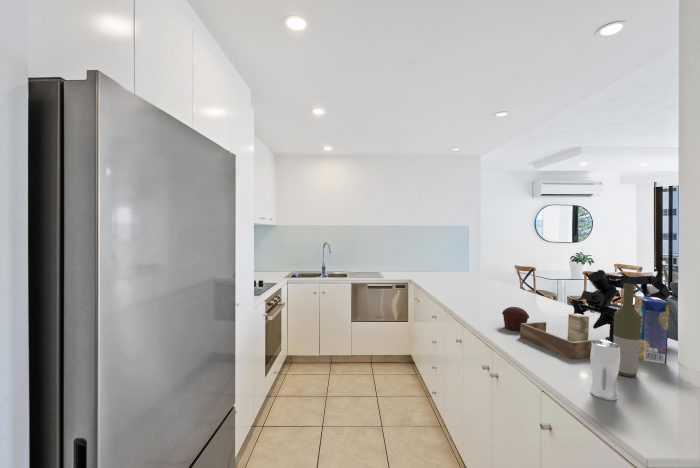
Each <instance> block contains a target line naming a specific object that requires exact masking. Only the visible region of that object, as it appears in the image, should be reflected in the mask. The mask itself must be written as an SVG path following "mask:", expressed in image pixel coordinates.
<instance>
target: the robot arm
mask: <svg viewBox="0 0 700 468" xmlns="http://www.w3.org/2000/svg"><path fill="white" fill-rule="evenodd" d="M587 279H588V280H589V282H590V283H591V284H592V286H593V287H594V289H596V290H598V291H596V292H592V291H588V290H583V291H582V293H581V296H580V298H581V299H583V300H585V303H587V304H585V303H584V301H583V300H581V299H577V298H572V299H571V301H570V302H569V303H570V305H571V307H573V314H581V315H585V313H586V312H587V311H590V312H595V313H598V314H600V315H599V317H598V318H597V319H596V321H595V323H594V324H593V326H592V328H593V329H594V330H596V329H599V328H601V327H602V326H605V325H609V333H608V334H609V335H608V336H605V339H606V340H611V341H613V335H614V313H615V312H616V311H617V310H618V309H620V308H621V307H622V306H623V303H622V304H618V303H612V301H613V300H614V299H615V297H616V298H617V297H618V298H620V297H621V294H620V290H618V289H623V290H624V288H623V285H624V283H630V284H634V286H636V285H637V286H638V285H640V287H639V288H640V289H641V293H639V294H638V295H637V296H645V297H656V298H659V299H661V300H664V301H665V300H666V301H667V300H668V299H669V298H670V296H671V291H670V290H669V288H668V286H667V285H666V284H665V283H664V282H661V281H660V280H659V279H658V278H657V277H656V276H655V275H653V274H646V273H645V274H644V273H642V274H628V275H625V274H618V273H611V272H610V273H607V274H606V272H605V271H604V270H603V269H598V270H597V271H594V272H592V273H589V274H588V276H587ZM617 288H618V289H617ZM634 303H635V296H633V308H634Z"/></svg>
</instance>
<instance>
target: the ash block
mask: <svg viewBox="0 0 700 468" xmlns="http://www.w3.org/2000/svg"><path fill="white" fill-rule="evenodd" d="M567 319H568V321H567V322H568V323H567V340H569V341H571V342H576V341H587V340H589V331H590V330H589V326H590V316H588V315H585V314H584V315H581V314H574V313H568V317H567Z"/></svg>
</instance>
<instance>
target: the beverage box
mask: <svg viewBox="0 0 700 468" xmlns="http://www.w3.org/2000/svg"><path fill="white" fill-rule="evenodd" d="M634 297H635V303H634V309H635V310H636V311H637V312H638V313H639V314H640V315H641V329H640V343H639V357H638V359H640V360H641V361H644V362H651V363H659V364H665V365H666V364H667V358H668V357H667V356H668V340H669V339H668V338H669V336H668V335H669V319H670V317H669V315H670V302H668V301H667V300H666V301H665V300H661V299H659V298H656V297H645V296H638V295H634Z"/></svg>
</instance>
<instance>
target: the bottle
mask: <svg viewBox="0 0 700 468" xmlns="http://www.w3.org/2000/svg"><path fill="white" fill-rule="evenodd" d="M623 288H624V289H623ZM623 288H622V289H623V294H622V296H623V299H622V304H623V306H622V307H621V308H620V309H618V310H617V311H616V312H615V313H614V335H613V340H612V341H613V343H616V344H618V345H619V346H620V368H619V373H618V375H621V376H624V377H632V378H633V377H636V376H637V374H638V368H639V343H640V329H641V315H640V314H639V313H638V312H637V311H636V310H635V309H634V308H633V298H634V295H635V294H634V290H635V285H634V284H630V283H624V285H623Z"/></svg>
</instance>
